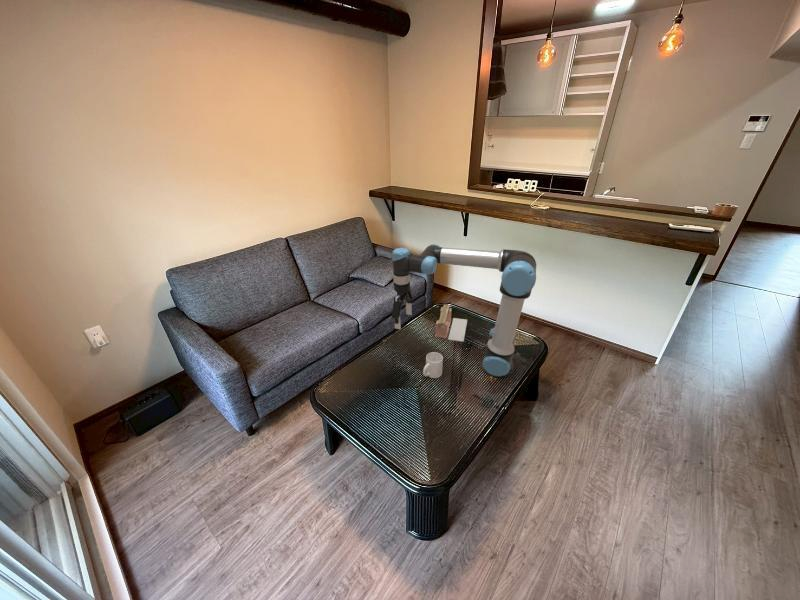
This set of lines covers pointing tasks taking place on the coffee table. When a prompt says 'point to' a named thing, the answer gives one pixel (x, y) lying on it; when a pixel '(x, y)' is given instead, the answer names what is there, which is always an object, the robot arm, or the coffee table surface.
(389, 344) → the coffee table surface
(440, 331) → the stand
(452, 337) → the mat
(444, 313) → the rail
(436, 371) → the mug
